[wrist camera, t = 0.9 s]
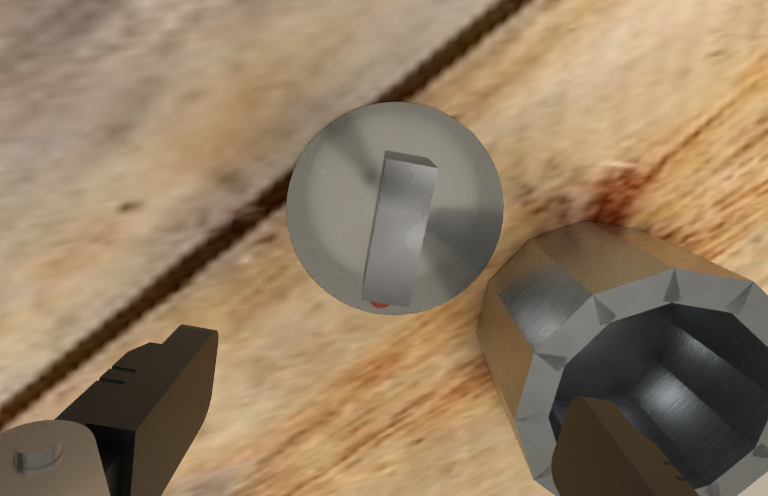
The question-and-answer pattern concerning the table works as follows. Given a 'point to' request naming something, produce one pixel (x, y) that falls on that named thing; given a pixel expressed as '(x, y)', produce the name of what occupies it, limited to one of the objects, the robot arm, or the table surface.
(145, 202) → the table surface
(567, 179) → the table surface
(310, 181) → the lid
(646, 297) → the pot
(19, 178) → the table surface
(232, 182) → the table surface
